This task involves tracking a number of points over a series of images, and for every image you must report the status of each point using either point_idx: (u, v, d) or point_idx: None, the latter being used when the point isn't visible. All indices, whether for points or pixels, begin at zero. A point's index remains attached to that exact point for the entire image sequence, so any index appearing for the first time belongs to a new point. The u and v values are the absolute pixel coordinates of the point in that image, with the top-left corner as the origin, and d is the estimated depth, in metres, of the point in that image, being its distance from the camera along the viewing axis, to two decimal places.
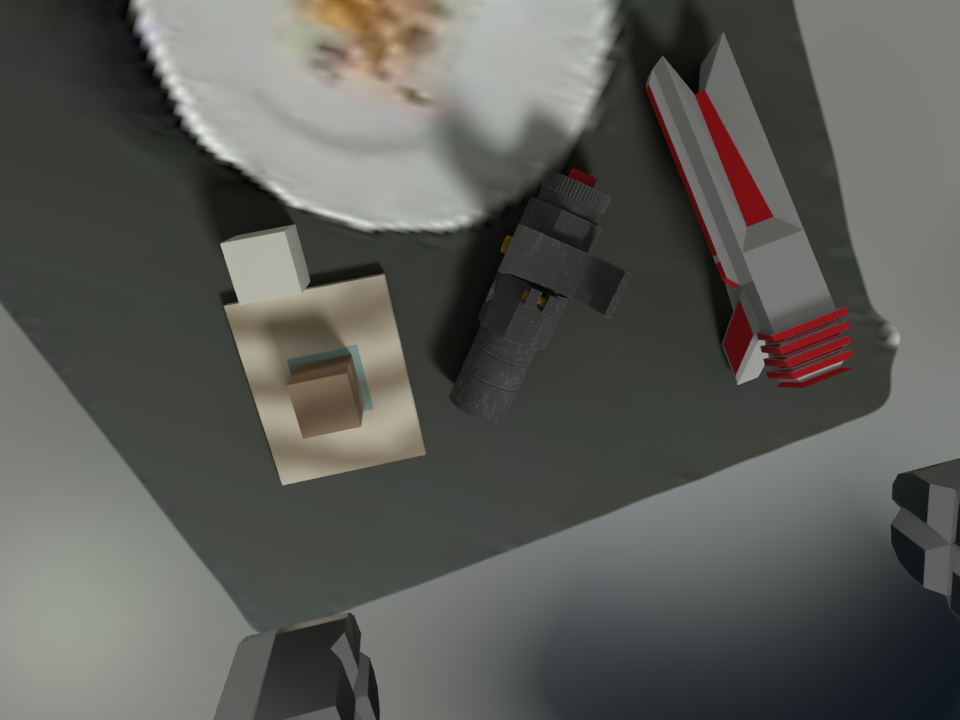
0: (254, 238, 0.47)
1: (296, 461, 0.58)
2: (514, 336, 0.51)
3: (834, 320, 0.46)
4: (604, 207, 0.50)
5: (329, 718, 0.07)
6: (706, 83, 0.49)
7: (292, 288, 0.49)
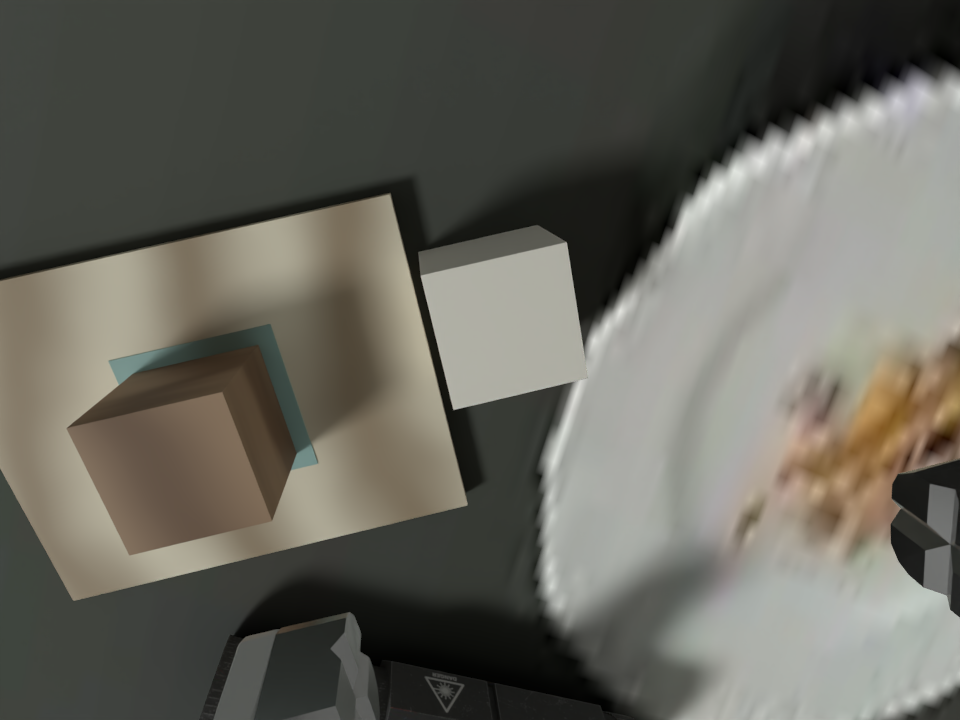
0: (575, 317, 0.21)
1: None
2: None
3: None
4: None
5: (329, 718, 0.07)
6: None
7: (463, 391, 0.22)
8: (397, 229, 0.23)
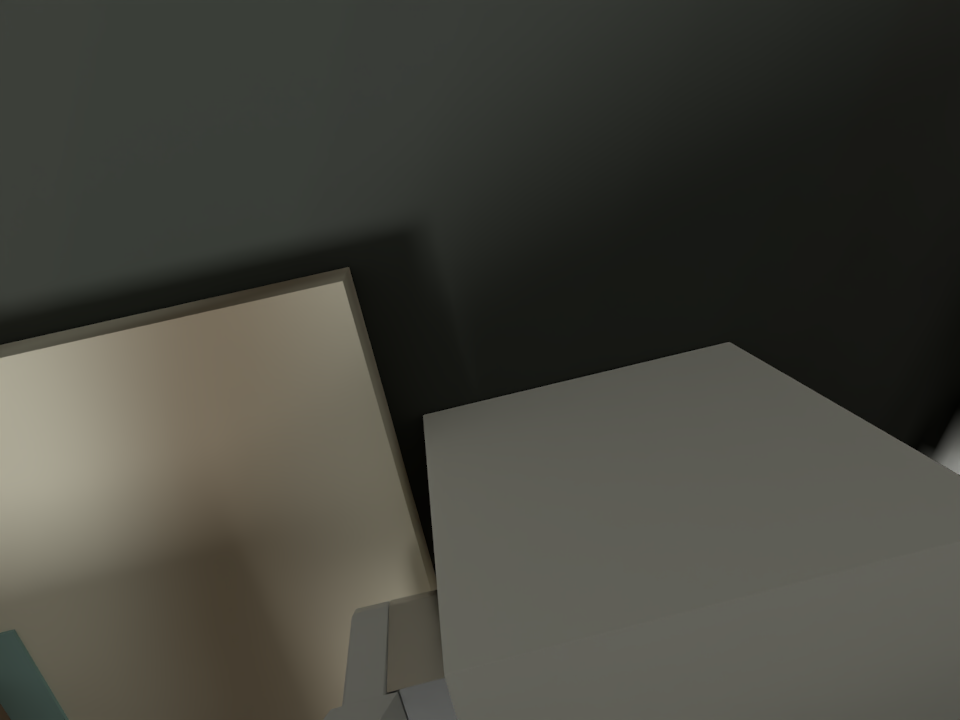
0: None
1: None
2: None
3: None
4: None
5: None
6: None
7: None
8: (366, 378, 0.08)
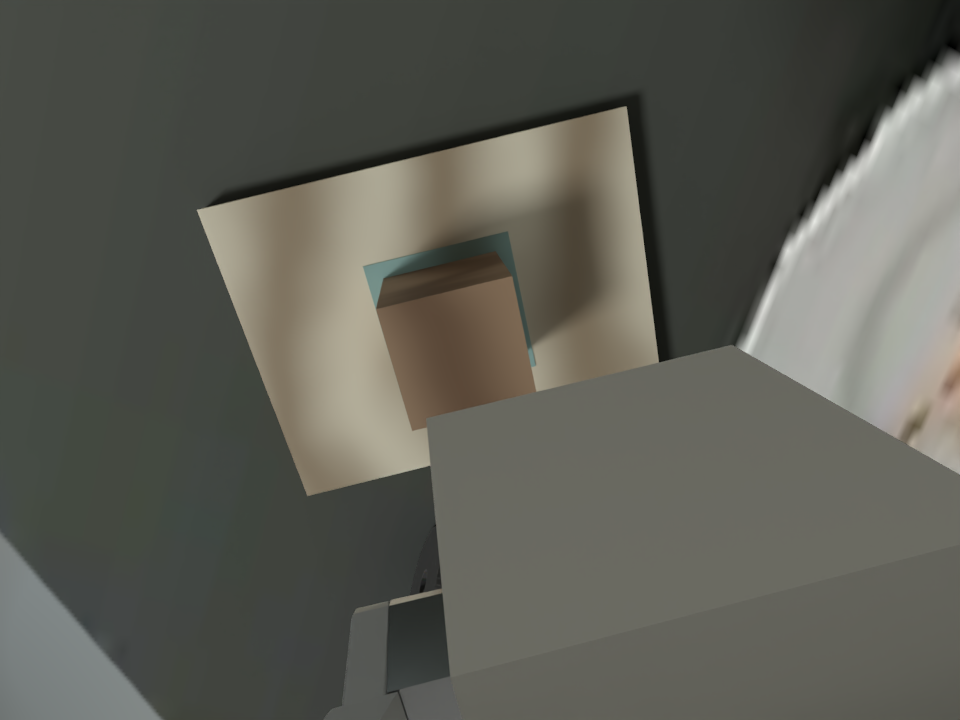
0: None
1: (266, 245, 0.25)
2: None
3: None
4: None
5: None
6: None
7: None
8: (630, 140, 0.25)
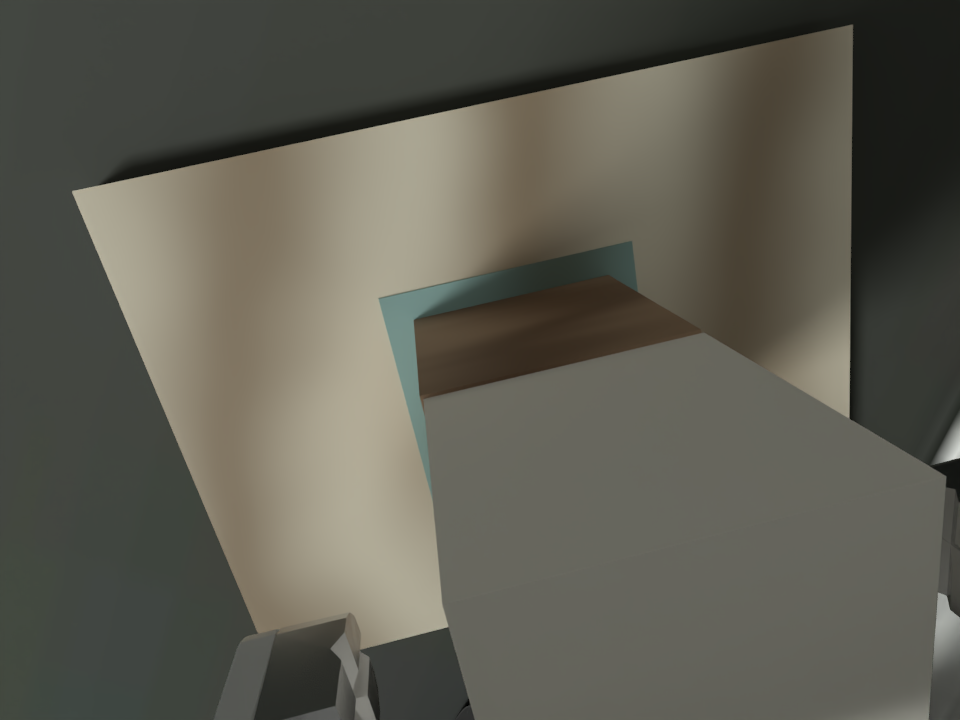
0: (923, 680, 0.07)
1: (204, 258, 0.14)
2: None
3: None
4: None
5: (329, 718, 0.07)
6: None
7: None
8: (851, 85, 0.15)
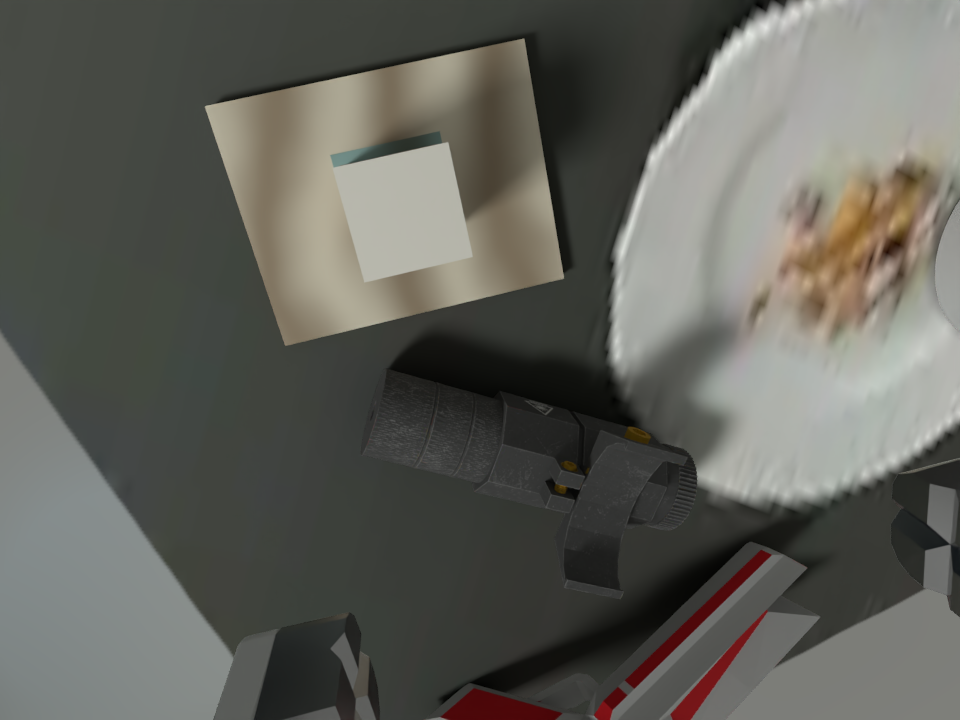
0: (459, 204, 0.27)
1: (256, 135, 0.34)
2: (504, 457, 0.37)
3: None
4: (657, 527, 0.42)
5: (329, 718, 0.07)
6: (772, 610, 0.46)
7: (371, 266, 0.27)
8: (527, 64, 0.35)
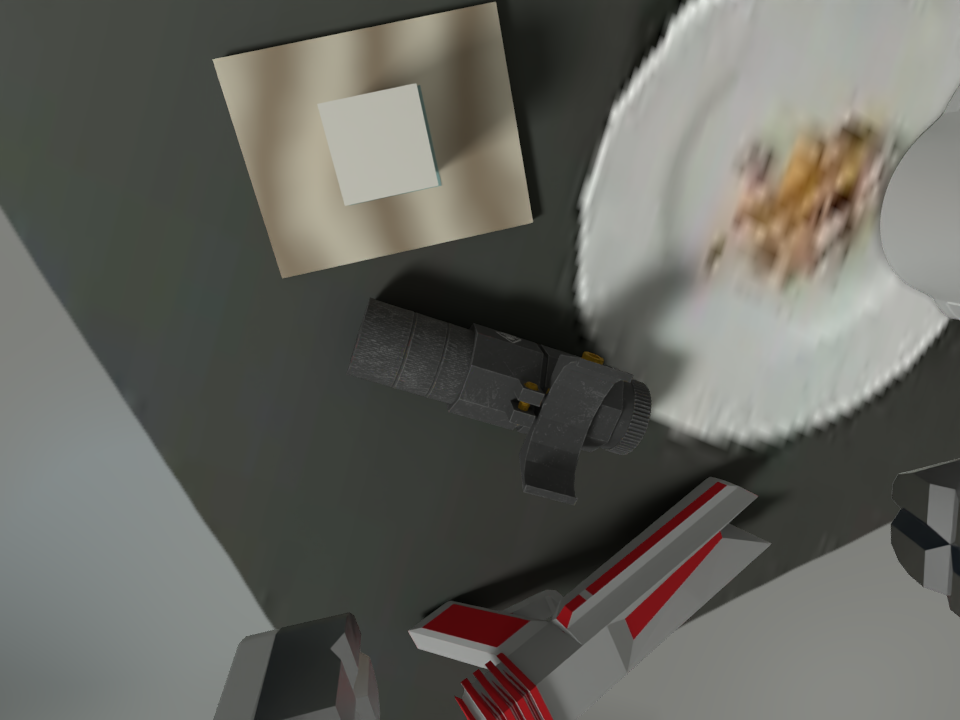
0: (426, 138, 0.31)
1: (257, 86, 0.38)
2: (474, 377, 0.41)
3: None
4: (615, 451, 0.46)
5: (329, 718, 0.07)
6: (727, 537, 0.51)
7: (350, 192, 0.31)
8: (499, 24, 0.39)
